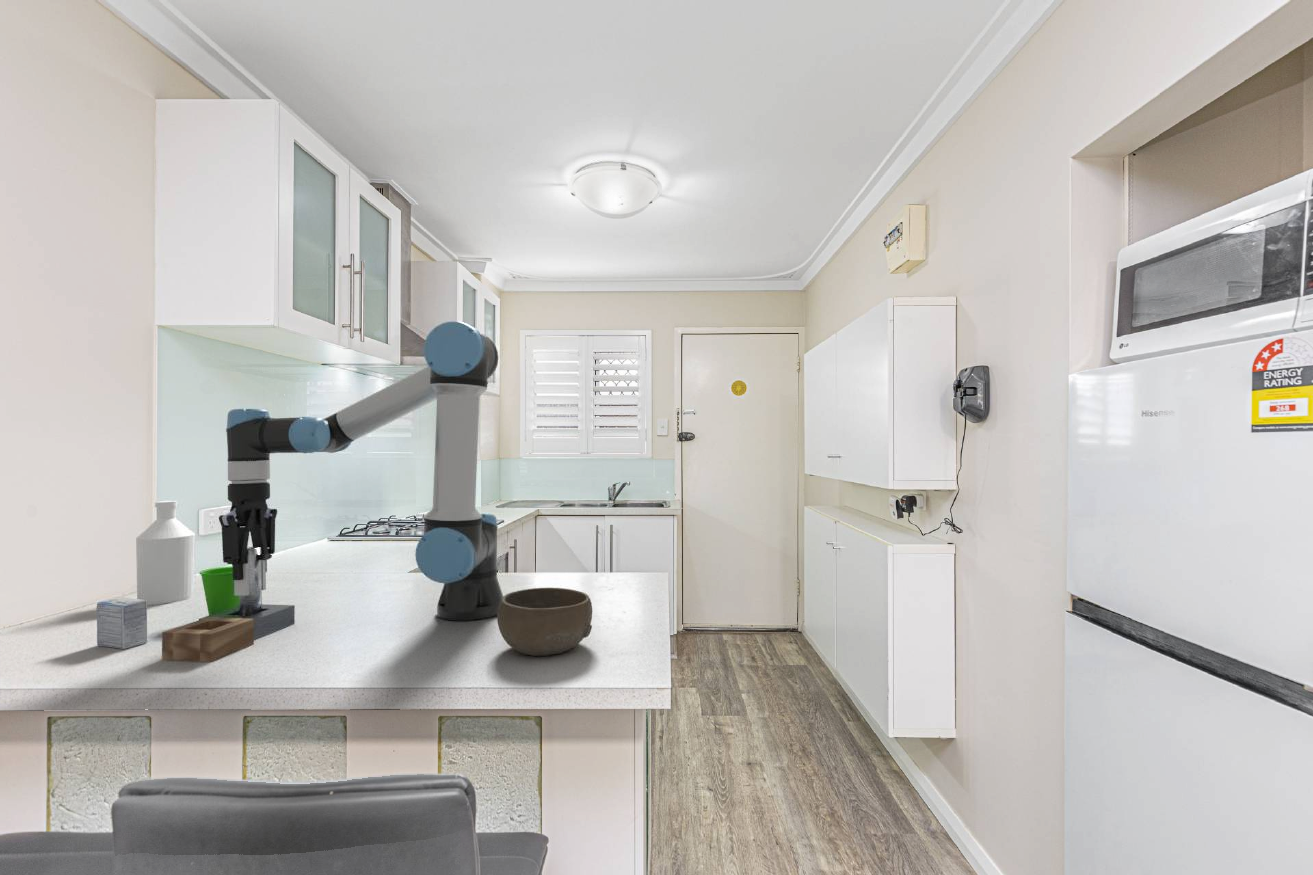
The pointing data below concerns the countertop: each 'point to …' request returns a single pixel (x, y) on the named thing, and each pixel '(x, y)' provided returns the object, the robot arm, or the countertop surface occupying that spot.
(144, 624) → the medicine box
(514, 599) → the bowl
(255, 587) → the key
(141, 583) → the bottle
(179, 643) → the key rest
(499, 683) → the countertop surface
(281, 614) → the block
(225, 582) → the cup
